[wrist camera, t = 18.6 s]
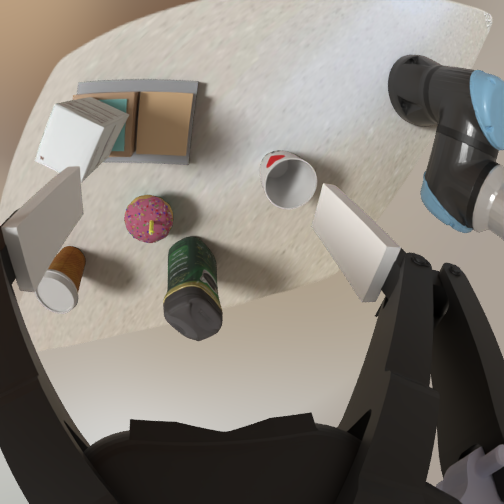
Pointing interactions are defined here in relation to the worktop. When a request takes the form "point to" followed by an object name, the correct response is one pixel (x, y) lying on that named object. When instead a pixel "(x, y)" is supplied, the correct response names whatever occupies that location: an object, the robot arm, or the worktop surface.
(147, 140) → the build base
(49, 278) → the disposable coffee cup
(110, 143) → the supplement box
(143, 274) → the worktop surface
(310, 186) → the cup
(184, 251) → the coffee jar
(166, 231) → the cupcake
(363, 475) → the robot arm
